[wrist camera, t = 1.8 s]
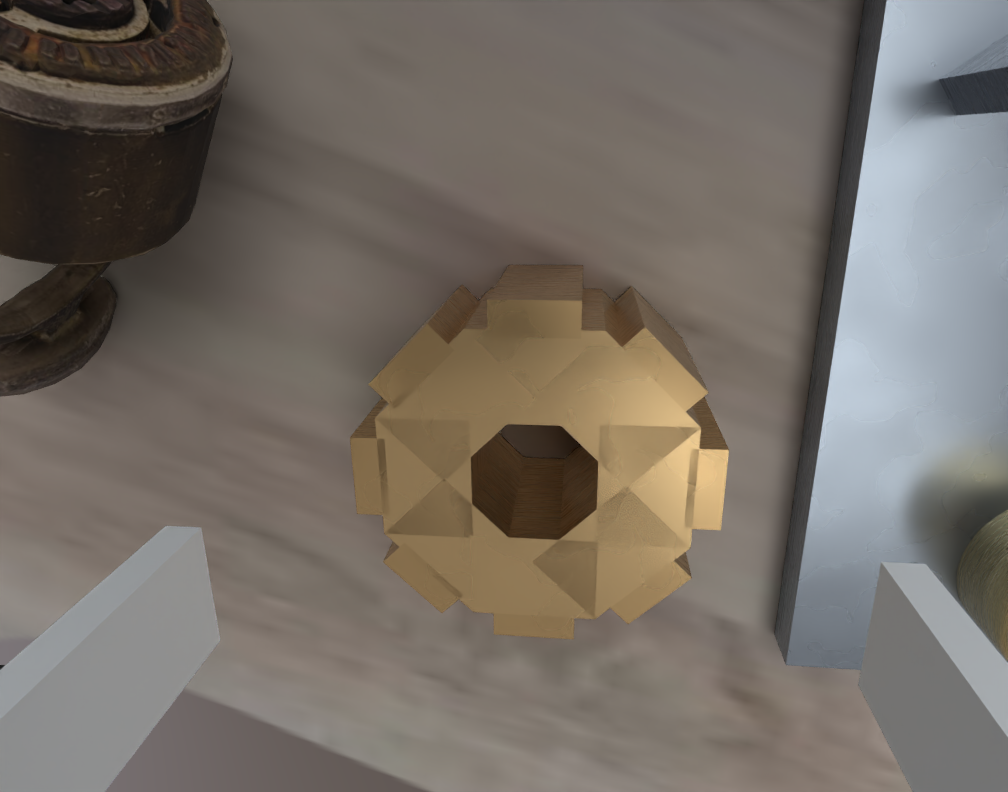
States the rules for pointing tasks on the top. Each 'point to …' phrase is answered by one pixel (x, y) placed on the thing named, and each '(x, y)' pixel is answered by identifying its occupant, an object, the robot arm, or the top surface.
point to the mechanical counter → (95, 158)
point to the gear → (541, 481)
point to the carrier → (909, 337)
